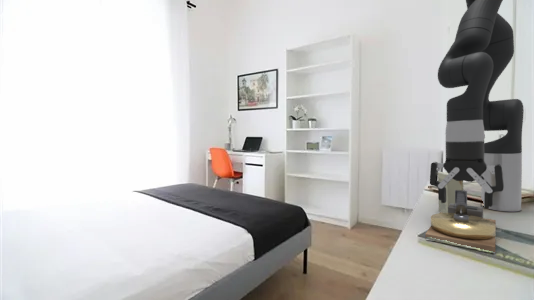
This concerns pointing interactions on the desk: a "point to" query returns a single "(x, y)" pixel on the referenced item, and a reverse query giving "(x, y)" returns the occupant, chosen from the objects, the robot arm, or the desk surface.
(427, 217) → the desk surface
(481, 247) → the tan piece
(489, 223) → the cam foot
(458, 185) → the skincare box
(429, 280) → the desk surface
